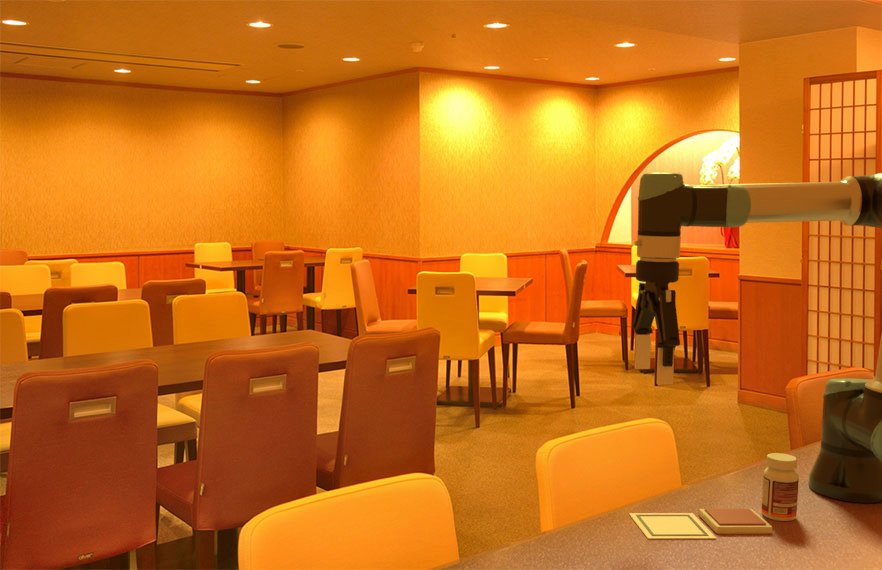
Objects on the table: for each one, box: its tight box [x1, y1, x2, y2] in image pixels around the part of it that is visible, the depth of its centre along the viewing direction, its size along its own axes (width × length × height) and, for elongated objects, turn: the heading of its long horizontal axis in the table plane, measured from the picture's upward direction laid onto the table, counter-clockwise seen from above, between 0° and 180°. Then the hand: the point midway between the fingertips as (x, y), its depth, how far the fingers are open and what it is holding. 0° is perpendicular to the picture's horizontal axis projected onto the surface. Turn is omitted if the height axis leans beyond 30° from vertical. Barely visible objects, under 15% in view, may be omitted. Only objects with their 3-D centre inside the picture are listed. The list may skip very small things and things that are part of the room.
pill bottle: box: [760, 452, 800, 522], centre depth 167 cm, size 6×6×11 cm
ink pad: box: [698, 508, 773, 535], centre depth 163 cm, size 10×9×2 cm
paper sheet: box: [628, 512, 717, 540], centre depth 161 cm, size 12×12×1 cm
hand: (653, 376), depth 164 cm, fingers open, 13 cm apart
